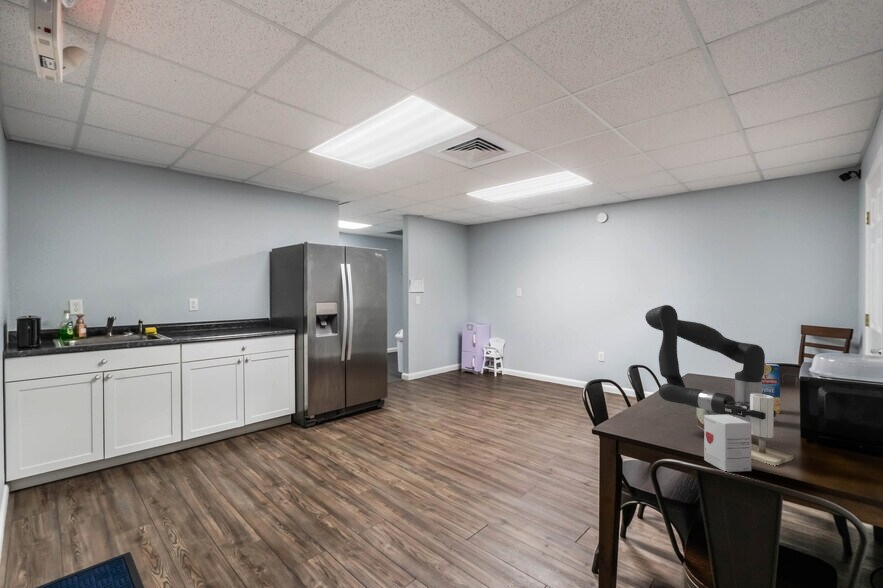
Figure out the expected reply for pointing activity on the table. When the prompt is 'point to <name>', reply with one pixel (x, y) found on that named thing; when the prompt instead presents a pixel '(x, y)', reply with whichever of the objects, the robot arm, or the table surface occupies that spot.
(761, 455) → the stand
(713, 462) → the supplement box
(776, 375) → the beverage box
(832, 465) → the table surface
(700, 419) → the food container
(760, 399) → the roll
